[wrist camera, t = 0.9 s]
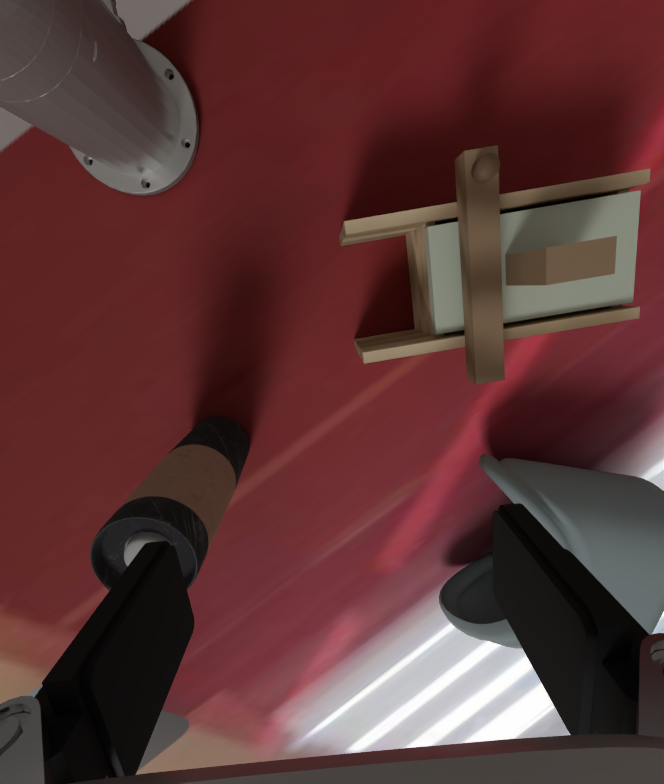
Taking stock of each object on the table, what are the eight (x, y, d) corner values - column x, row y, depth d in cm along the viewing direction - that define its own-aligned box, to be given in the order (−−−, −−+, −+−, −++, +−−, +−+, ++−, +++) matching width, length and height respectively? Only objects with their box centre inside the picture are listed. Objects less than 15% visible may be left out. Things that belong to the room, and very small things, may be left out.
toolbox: (339, 236, 38) (344, 221, 30) (575, 195, 38) (650, 168, 29) (355, 347, 42) (364, 363, 33) (572, 311, 41) (639, 318, 33)
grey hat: (557, 595, 52) (624, 690, 40) (428, 576, 52) (456, 666, 40) (612, 458, 46) (712, 519, 34) (467, 436, 46) (514, 489, 34)
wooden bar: (454, 160, 29) (470, 144, 25) (486, 154, 28) (505, 138, 25) (467, 378, 34) (482, 388, 30) (494, 374, 34) (511, 383, 30)
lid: (424, 228, 32) (452, 212, 25) (629, 193, 32) (715, 167, 25) (432, 332, 34) (460, 344, 27) (622, 301, 34) (698, 305, 27)
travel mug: (214, 401, 43) (128, 494, 24) (264, 441, 45) (222, 557, 25) (176, 446, 44) (65, 567, 25) (226, 482, 46) (158, 623, 27)
